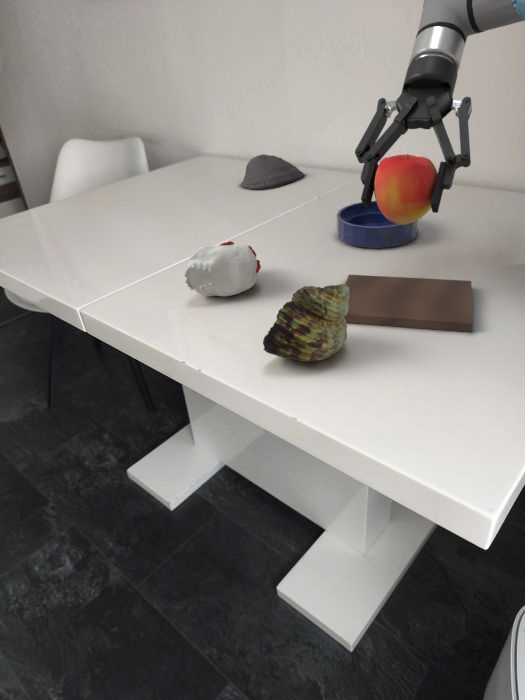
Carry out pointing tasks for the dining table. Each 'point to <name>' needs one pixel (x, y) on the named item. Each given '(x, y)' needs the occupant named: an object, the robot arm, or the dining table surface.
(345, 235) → the bowl
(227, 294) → the white rounded lumpy piece
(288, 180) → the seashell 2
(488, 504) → the dining table surface
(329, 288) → the seashell
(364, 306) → the board
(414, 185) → the apple
